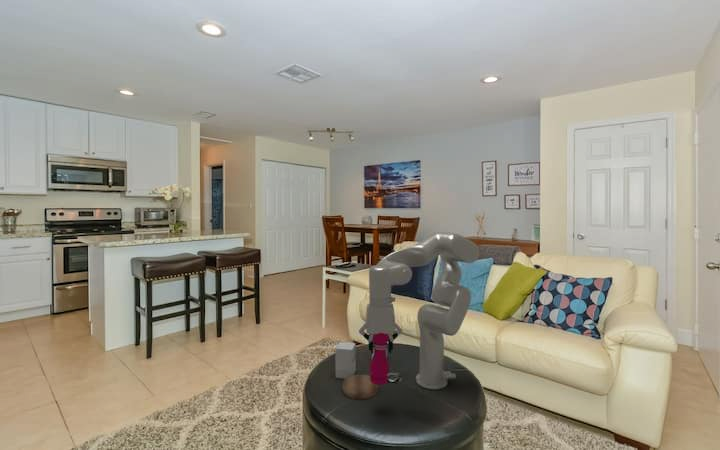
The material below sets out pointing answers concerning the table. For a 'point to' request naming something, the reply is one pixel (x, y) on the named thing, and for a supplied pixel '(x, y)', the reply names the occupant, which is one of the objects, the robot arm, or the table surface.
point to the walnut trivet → (359, 387)
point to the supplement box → (345, 360)
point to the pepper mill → (379, 360)
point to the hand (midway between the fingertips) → (380, 351)
